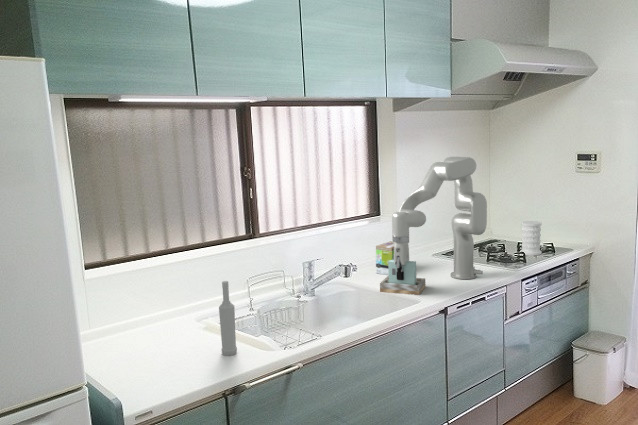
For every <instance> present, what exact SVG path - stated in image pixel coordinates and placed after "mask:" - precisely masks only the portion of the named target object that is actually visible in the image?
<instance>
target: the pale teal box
mask: <svg viewBox="0 0 638 425" xmlns="http://www.w3.org/2000/svg"><path fill="white" fill-rule="evenodd" d="M396 263H397V262H396ZM400 265H402V264H401V263H400ZM400 267H401V266H400ZM388 268H389V275H388V276H389V283H396V284H409V285H416V278H417V261H416V260H414V261H412V260H409V261H408V262H407V263H406V265H403V271H404V280H397V268H396V265H395V264H394V260H390V261H389V262H388Z"/></svg>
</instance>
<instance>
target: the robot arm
mask: <svg viewBox="0 0 638 425" xmlns="http://www.w3.org/2000/svg"><path fill="white" fill-rule="evenodd" d="M476 170H477V162H476V160H475V159H474V158H472V157H470V156H469V157H468V156H449V157H446V158H444V160H443V161H438V162H434V163H432V164H431V166H430V167H429V169H428V171H427V172H426V175H425V176H424V178H423V179H422V182H421V184H420V186H419V187H418V188H417V189H416V190H414V191H413V192H412V193H411V194H409V195H408V196H407V197H406V198H405V199H404V201H403V202H402V204H401V205H400V208H399V209H398V211H396V212H393V213H392V216H391V225H392V226H391V227H392V228H391V229H392V242H393V243H394V264H395V265H396V268H397V280H404V271H403V265H406V263H407V262H408V261H410V247H409V246H410V245H409V244H410V228H420V227H422V226H424V225H425V224H426V222H427V217H426V213H424V212H422V211H421V210H417V209H416V208H417V207H418V206H419V205H420V204H423V203H424V202H426V201H427V202H428V201H429V200H432V199H435V197H436V196H437V194H438V192H439V190H440V189H441V187H442V185H443V183H444V181H446V182H447V181H448V182H453V183H454V206H455V208H456V209H457V210H459V211H463V212H460V213H457V214H454V216H453V217H452V219H451V229H452V234H453V235H452V236H453V271H452V272H451V273H450V277H451V278H453V279H456V280H473V279H476V278H477V276H478V275H483V274H484V273H483V272H484V271H483V270H481V269H476V267H475V266H474V256H475V255H474V251H475V250H474V242H475V241H474V238H473V235H474V236H481V235H483V234H484V233H485V232H486V229H487V225H488V222H487V221H488V218H487V217H488V203H487V199H486V197H485V195H484V194H482V193H481V192H476V191H474V189H473V186H474V184H473V177H472V176H471V175H473V174H475V172H476ZM415 209H416V210H415ZM466 212H470V213H466ZM396 262H397V263H396ZM400 263H401V264H402V265H400ZM400 266H401V267H400Z"/></svg>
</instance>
